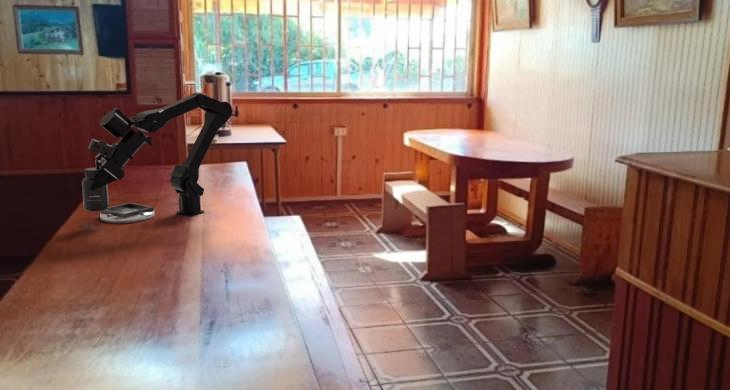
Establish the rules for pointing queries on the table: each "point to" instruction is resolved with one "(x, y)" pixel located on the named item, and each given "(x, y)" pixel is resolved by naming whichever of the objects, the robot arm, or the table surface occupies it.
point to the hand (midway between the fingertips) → (89, 187)
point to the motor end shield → (127, 213)
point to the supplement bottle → (94, 192)
